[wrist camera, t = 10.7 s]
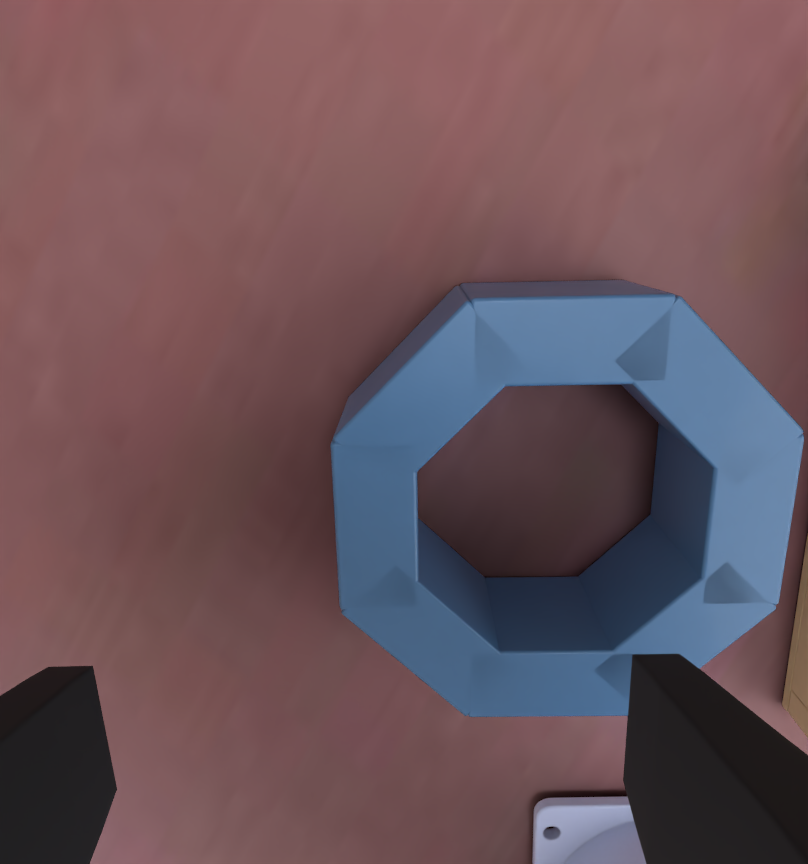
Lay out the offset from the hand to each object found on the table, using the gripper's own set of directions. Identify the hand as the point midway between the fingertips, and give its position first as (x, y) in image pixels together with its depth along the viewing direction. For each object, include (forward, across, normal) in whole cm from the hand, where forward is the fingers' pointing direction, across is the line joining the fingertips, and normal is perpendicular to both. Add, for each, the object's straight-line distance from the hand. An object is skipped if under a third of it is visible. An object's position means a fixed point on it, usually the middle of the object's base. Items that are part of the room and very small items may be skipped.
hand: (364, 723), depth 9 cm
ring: (+9, -4, 0) cm, 10 cm away
